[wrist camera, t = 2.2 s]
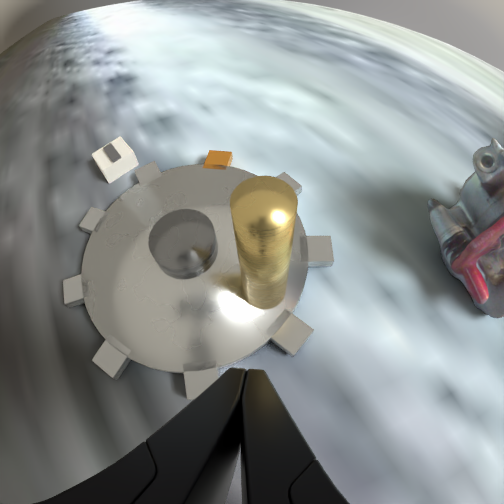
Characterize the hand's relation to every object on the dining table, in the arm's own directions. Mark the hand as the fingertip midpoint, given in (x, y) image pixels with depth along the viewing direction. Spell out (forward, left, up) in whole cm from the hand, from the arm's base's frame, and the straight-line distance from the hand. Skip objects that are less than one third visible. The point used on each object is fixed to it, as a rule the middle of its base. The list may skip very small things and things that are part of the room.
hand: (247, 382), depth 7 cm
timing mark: (+13, +18, -10) cm, 24 cm away
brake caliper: (+14, -13, -10) cm, 22 cm away
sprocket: (+7, +7, -10) cm, 14 cm away
